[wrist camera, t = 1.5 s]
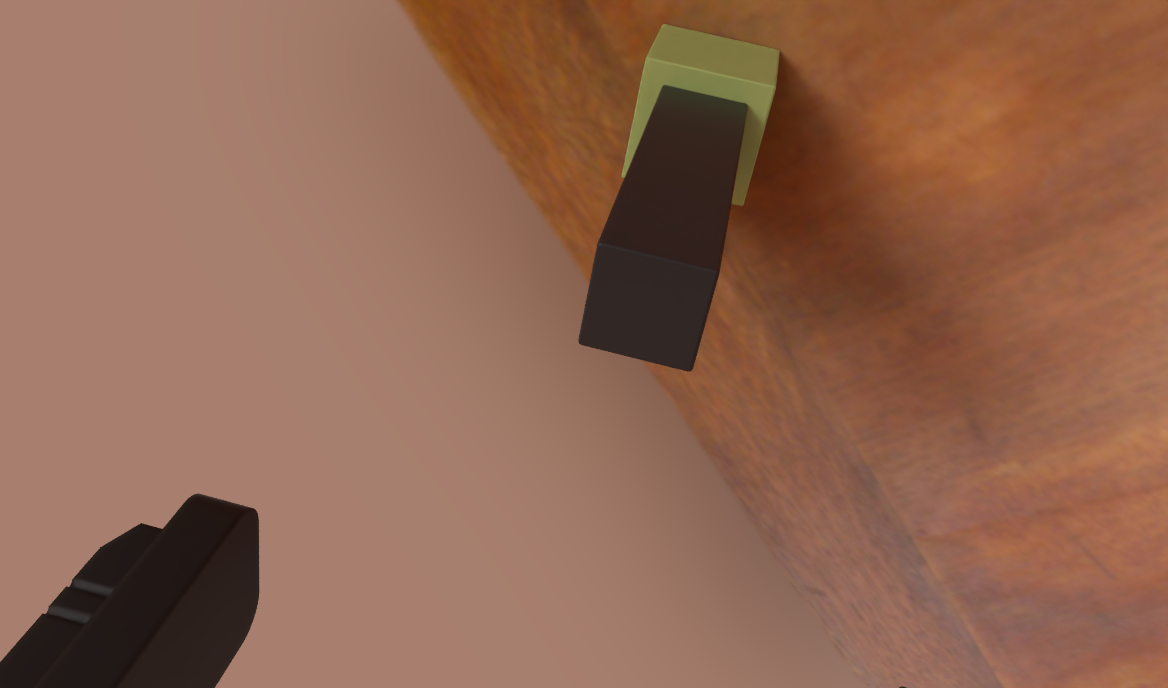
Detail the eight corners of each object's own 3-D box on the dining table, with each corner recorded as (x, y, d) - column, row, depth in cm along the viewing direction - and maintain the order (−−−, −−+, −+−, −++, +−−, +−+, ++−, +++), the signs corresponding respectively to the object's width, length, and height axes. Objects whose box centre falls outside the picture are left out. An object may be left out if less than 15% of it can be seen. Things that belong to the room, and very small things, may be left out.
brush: (639, 135, 33) (544, 361, 21) (662, 23, 31) (572, 207, 19) (749, 161, 32) (713, 404, 21) (780, 49, 31) (759, 252, 19)
